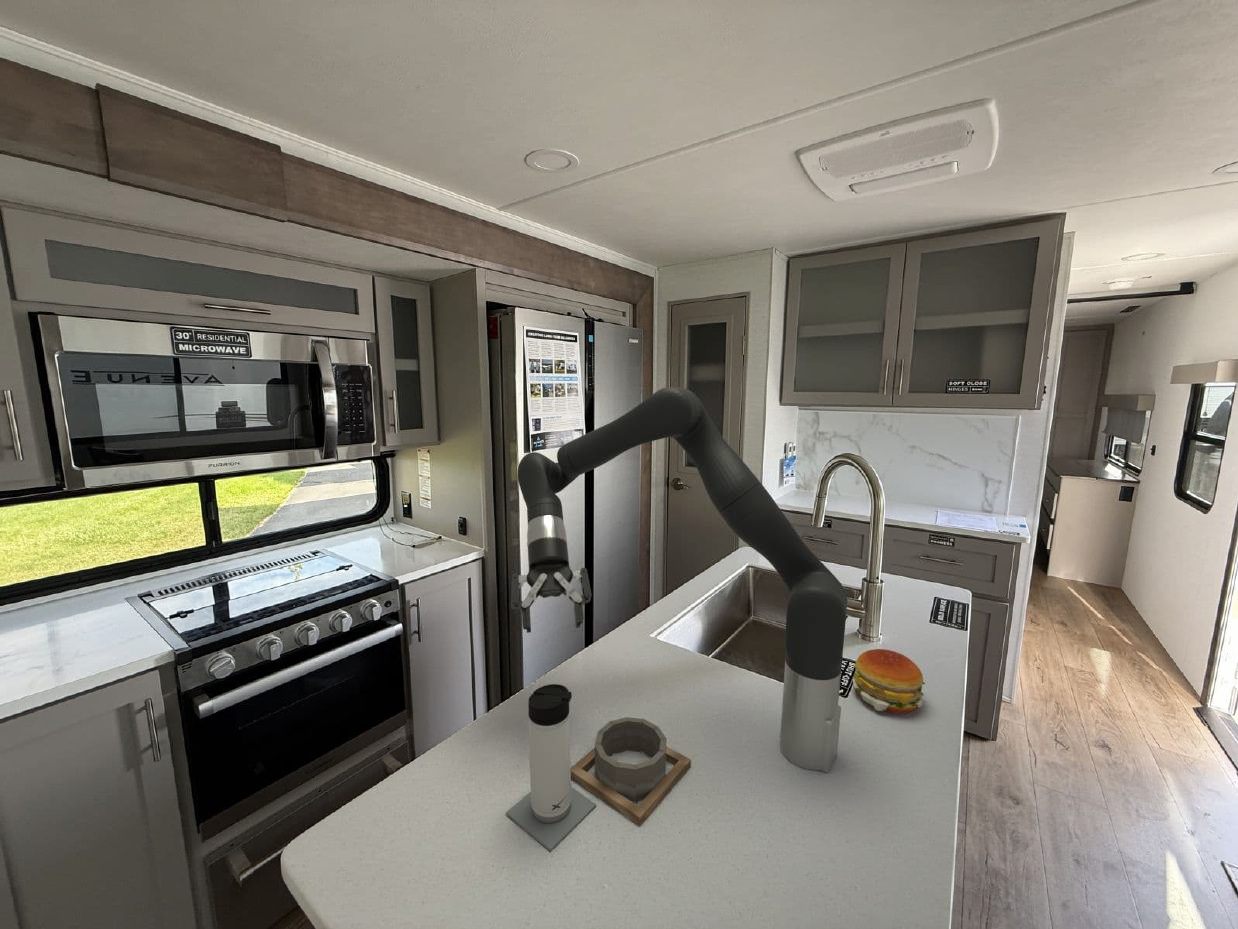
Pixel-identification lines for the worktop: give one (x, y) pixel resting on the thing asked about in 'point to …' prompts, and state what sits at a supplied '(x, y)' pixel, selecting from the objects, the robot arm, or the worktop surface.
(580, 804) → the coaster
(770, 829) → the worktop surface
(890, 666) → the burger
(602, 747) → the ring holder
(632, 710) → the worktop surface
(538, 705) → the travel mug
